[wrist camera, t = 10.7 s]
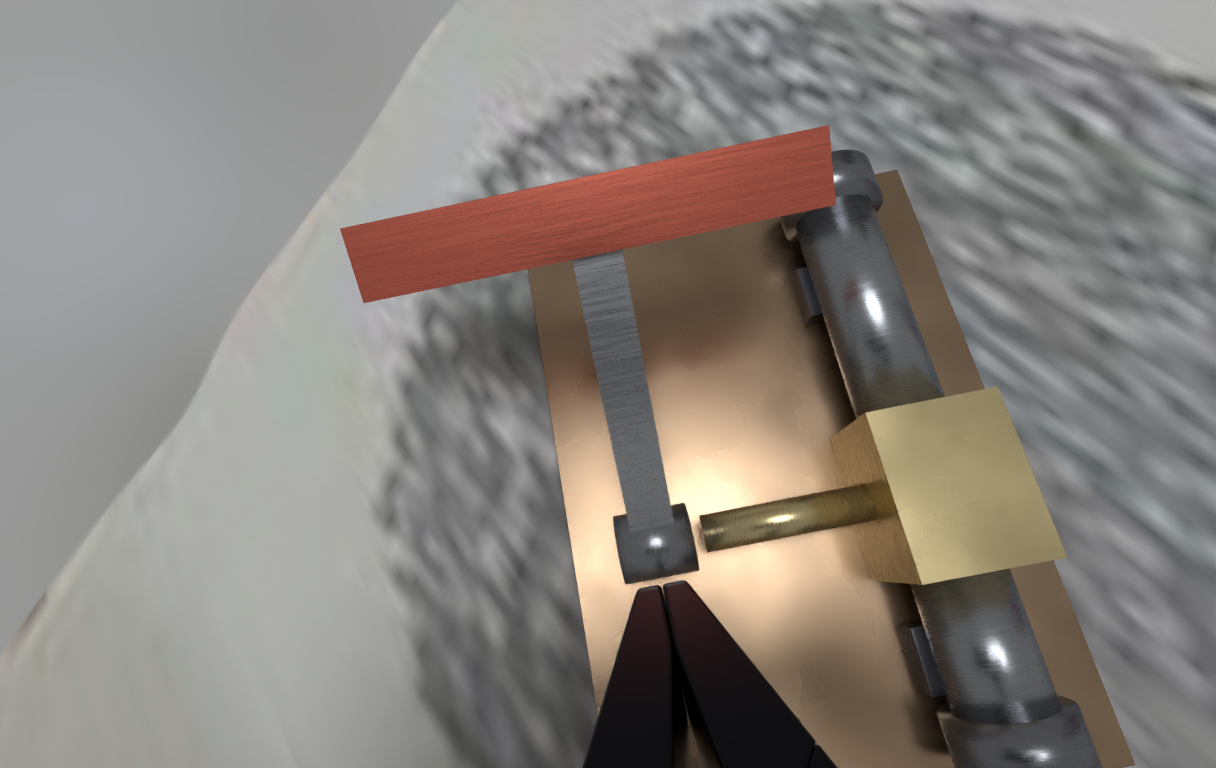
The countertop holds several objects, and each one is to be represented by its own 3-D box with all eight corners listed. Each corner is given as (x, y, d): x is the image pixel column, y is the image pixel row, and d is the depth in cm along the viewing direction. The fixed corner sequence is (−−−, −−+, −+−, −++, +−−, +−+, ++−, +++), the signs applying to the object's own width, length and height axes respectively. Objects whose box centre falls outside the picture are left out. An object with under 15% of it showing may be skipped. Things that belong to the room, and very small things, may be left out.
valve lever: (869, 552, 18) (832, 124, 15) (464, 630, 19) (336, 228, 15) (840, 518, 20) (801, 136, 17) (477, 588, 21) (368, 227, 17)
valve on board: (1106, 752, 19) (1264, 820, 14) (622, 839, 19) (609, 934, 14) (886, 187, 26) (940, 96, 21) (530, 261, 26) (499, 190, 21)
